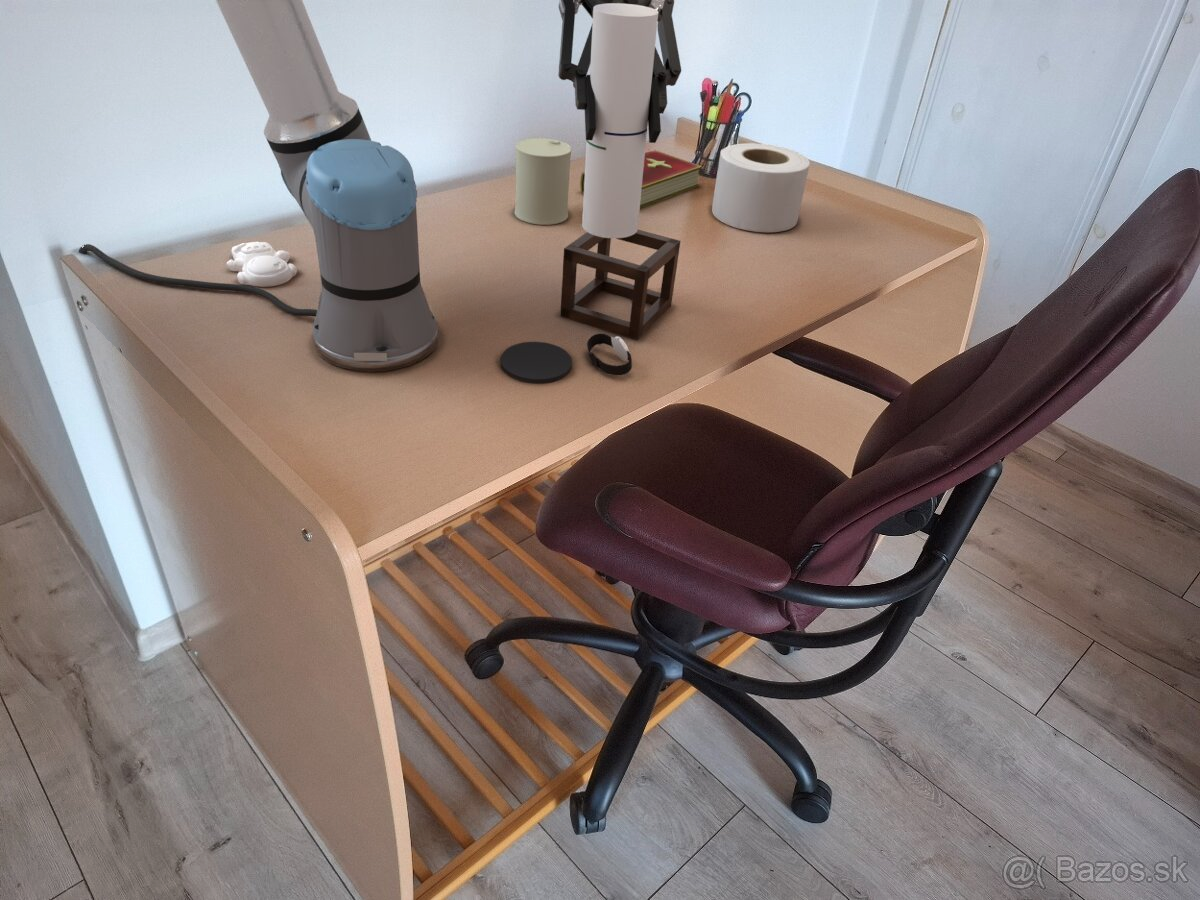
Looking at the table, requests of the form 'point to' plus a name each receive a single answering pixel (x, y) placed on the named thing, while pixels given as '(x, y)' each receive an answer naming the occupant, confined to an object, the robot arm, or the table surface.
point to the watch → (619, 348)
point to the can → (542, 181)
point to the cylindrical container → (618, 117)
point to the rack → (619, 282)
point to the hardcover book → (663, 177)
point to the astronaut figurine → (261, 264)
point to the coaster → (536, 362)
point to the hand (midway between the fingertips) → (623, 135)
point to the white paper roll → (759, 187)
